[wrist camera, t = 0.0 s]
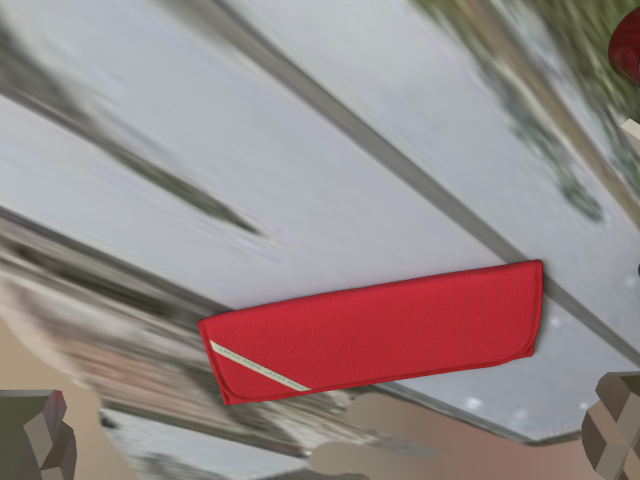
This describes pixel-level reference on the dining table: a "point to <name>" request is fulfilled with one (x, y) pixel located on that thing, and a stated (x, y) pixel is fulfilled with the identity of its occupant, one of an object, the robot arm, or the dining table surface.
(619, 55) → the soda can
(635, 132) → the beige angled piece
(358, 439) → the dining table surface
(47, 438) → the robot arm
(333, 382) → the dish drying mat
